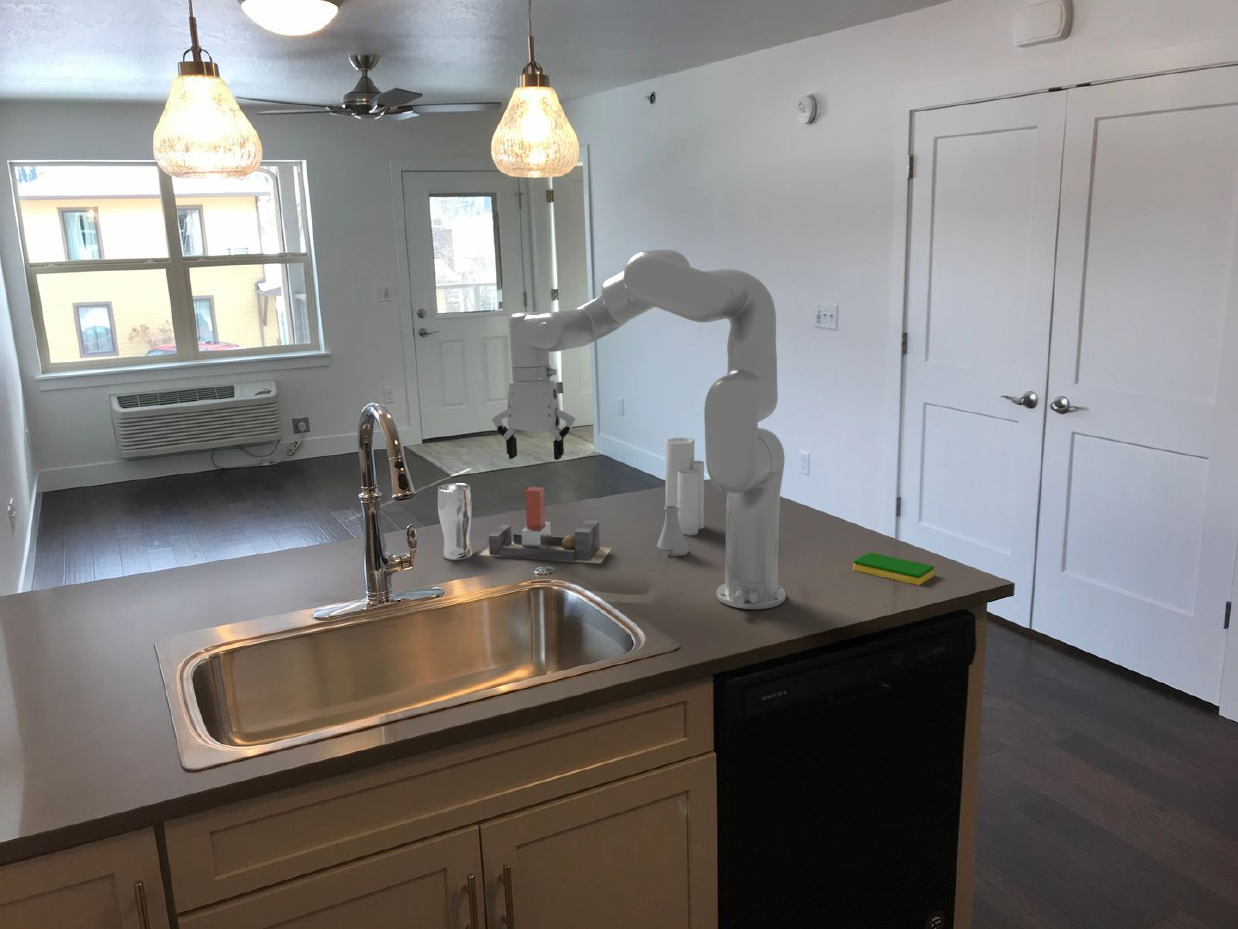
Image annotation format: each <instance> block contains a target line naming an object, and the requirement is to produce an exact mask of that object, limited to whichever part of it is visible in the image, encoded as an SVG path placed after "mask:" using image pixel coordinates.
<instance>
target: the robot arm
mask: <svg viewBox="0 0 1238 929" xmlns="http://www.w3.org/2000/svg"><path fill="white" fill-rule="evenodd" d="M600 293H601V294H600V295H599V296H597V297H596V298H594V299H592V300H591V301H588V302H587V303H585V304H583V305H582V306H579V307H577V308H573V309H566V310H560V311H559V310H558V311H553V312H552V311H551V312H545V313H543V312H541V311H540V312H539V311H523V312H521V311H520V312H514V313H513V314H512V315H510V316H509V320H508V322H509V323H508V325H509V326H508V327H509V343H510V359H511V373H512V374H511V377H512V378H511V379H512V380H511V381H509V386H508V393H507V405H506V406H507V408H506V410H504V411H502V412H501V413H499V414H497V415H494V416H493V417H492V419H491V420H492V422H493V424H494V426H495V427H496V430H497V432H498V433H499V434H500V435H501V436H502V437H503V439H504V440H505V445H506V448H505V449H506V454H507V455H508V460H513V459H514V458H515V457H518V446H517V438H516V436H515V434H516V433H517V432H549V433H550V434H551V435H552V436H553V438H554V440H553V459H554V460H555V461H559V460H560V459H561V458H562V457H563V456H564V453H565V451H564V450H565V449H564V448H565V446H564V438H565V437H566V436H567V435H568V434H569V433H570V432H571V431H572V429H573V426H574V424H575V422H576V417H574V416H572V415H571V414H570V413H567V412H565V411H564V410H561V409H560V401H559V395H558V392H557V391H558V390H557V386H556V382H555V380H554V379H552V377H553V376H557V374H558V373H557V369H556V368H552V367H551V364H550V356H549V355H550V353H549V352H551V353H552V352H553V353H555V352H561V351H566V350H570V349H571V350H572V349H576V348H581V347H584V346H588V345H590V344H592V343H594V342H596V341H598V340H599V339H602V338H603V337H606V336H607V335H609V334H612V333H613V332H614V331H616V330H618V329H620V328H621V327H622V326H623V325H625V324H626V323H628V322H629V321H631V320H633V319H634V318H636V317H638V316H640V315H642V314H644V313H646V312H648V311H649V310H652V309H654V308H656V309H657V308H658V309H660V310H663V311H666V312H668V313H670V314H673V315H676V316H678V317H681V318H683V319H686V320H690V321H692V322H697V323H712V322H716V321H721V320H725V319H727V320H728V321H729V323H730V328H729V332H728V333H729V334H728V338H727V347H726V352H727V373H726V375H724V376H721V377H720V378H718V379H717V380H716V381H715V382H714V383H713V384H712V385H711V386H710V388H709V389H708V392H707V395H706V398H705V402H704V410H703V411H704V412H703V413H704V448H705V450H704V451H705V464H706V465H705V466H706V470H707V473H708V476H709V478H710V480H711V482H712V484H713V485H714V486H715V487H716V488H717V489H718V490H720V491H722V492H724V493H726V495H727V496H726V505H725V508H726V509H725V566H724V567H725V573H724V574H725V578H724V581H725V582H724V583H722V584H721V585H719V586H718V587H717V588H716V598H717V600H718V601H719V602H721V603H723V604H724V605H726V606H729V607H733V608H738V609H744V610H764V609H765V610H766V609H772V608H774V607H777V606H779V605H781V604H782V603H784V602H785V600H786V591H785V590H784V588H782V587H781V586H779V585H778V572H779V571H778V566H779V565H778V564H779V531H780V530H779V529H780V528H779V526H780V525H779V524H780V522H779V521H780V506H781V505H780V504H781V503H780V502H781V500H780V499H781V489H782V484H783V482H782V481H783V476H784V471H785V470H784V469H785V460H786V459H785V458H786V457H785V451H784V447H783V444H782V442H781V441H780V439H779V437H778V436H777V435H776V434H775V433H774V432H772V431H770V430H768V429H766V428H761V427H758V426H759V425H758V423H760V422H762V421H764V420H766V419H767V418H769V417H770V416H771V415H772V414H773V413H774V412H775V410H776V408H777V405H778V393H779V392H778V361H777V360H778V358H777V356H778V355H777V315H776V307H775V304H774V300H773V297H772V294H771V293H770V291H769V290H768V288H767V287H766V286H765V284H764V283H763V282H762V281H760V279H758V278H757V277H755V276H754V275H752V274H750V273H747V272H745V271H741V270H738V269H729V268H728V269H725V268H724V269H716V270H708V271H707V270H706V271H705V270H704V271H703V270H700V269H697V268H694V267H691V265H690V262H689V261H688V259H687V258H686V257H685V256H684V255H683V254H682V253H681V252H679V251H676V250H673V249H652V250H643V251H640V252H638V253H636V254H635V255H633V256H632V257H631V258H630V259H629V260H628V261H627V262H626V265H625V266H624V270H623V271H620V272H618V273H617V274H615V275H613V276H611V277H610V278H608V279H606V280H605V281H604V282H603V283H602V286H601V292H600ZM505 418H507V427H508V428H507V427H506V426H505V425H504V424H503V420H504V419H505ZM561 420H562V421H565V425H564V427H563V428H561V427H560V425H561Z"/></svg>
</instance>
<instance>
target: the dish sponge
mask: <svg viewBox="0 0 1238 929" xmlns="http://www.w3.org/2000/svg"><path fill="white" fill-rule="evenodd" d="M852 568H853V571H854V570H857V571H856V572H859V571H862V572H861V573H863V572H865V573H864V574H867V573H869V574H868V575H871V574H873V575H872V576H876V575H877V577H880V578H884V577H888V578H887V579H889V578H891V579H890V580H893V579H895V580H894V581H897V580H898V582H903V583H906V584H910V583H913V584H912V585H914V584H916V586H920V584H921V585H922V584H923V583H925V582H927V581H928V580H929V579H931V578H933V577H934V576H935V575H934V574H935V570H934V569H935V566H934V565H930V564H926V563H921V562H917V561H912V560H908V559H902V558H898V557H894V556H888V555H884V554H879V553H876V552H875V553H874V552H867V553H865V554H863V555H862V556H860V557H858V558H857V559H854V560H853V567H852Z"/></svg>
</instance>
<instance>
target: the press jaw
mask: <svg viewBox="0 0 1238 929" xmlns="http://www.w3.org/2000/svg"><path fill="white" fill-rule="evenodd" d="M525 505H526V506H525V510H526V511H525V512H526V513H525V515H526V526H524V528H523V529H522V530H521V533H522V547H530V548H546V549H547V548H548V547H549V546H550V545H551V535H552V532H551V531H552V529H551V527H552V526H551V521H546V512H545V511H546V510H545V509H546V507H545V505H546V504H545V487H541V486H540V487H539V486H530V487H528V488H527V489H526V490H525Z"/></svg>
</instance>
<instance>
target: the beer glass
mask: <svg viewBox="0 0 1238 929" xmlns="http://www.w3.org/2000/svg"><path fill="white" fill-rule="evenodd" d="M437 512H438V517H439V522H440V527H441V530H442V534H443V551H442V556H443V558H444V559H445V560H447V561H462V560H466V559H469V558H470V557H471V556H472V555H473V552H472V547H471V542H470V533H471V524H472V515H473V514H472V513H473V505H472V495H471V486H470V485H469V484H467V483H459V482H458V483H457V482H456V483H455V482H454V483H446V484H442V485H439V486H438V487H437Z"/></svg>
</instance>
